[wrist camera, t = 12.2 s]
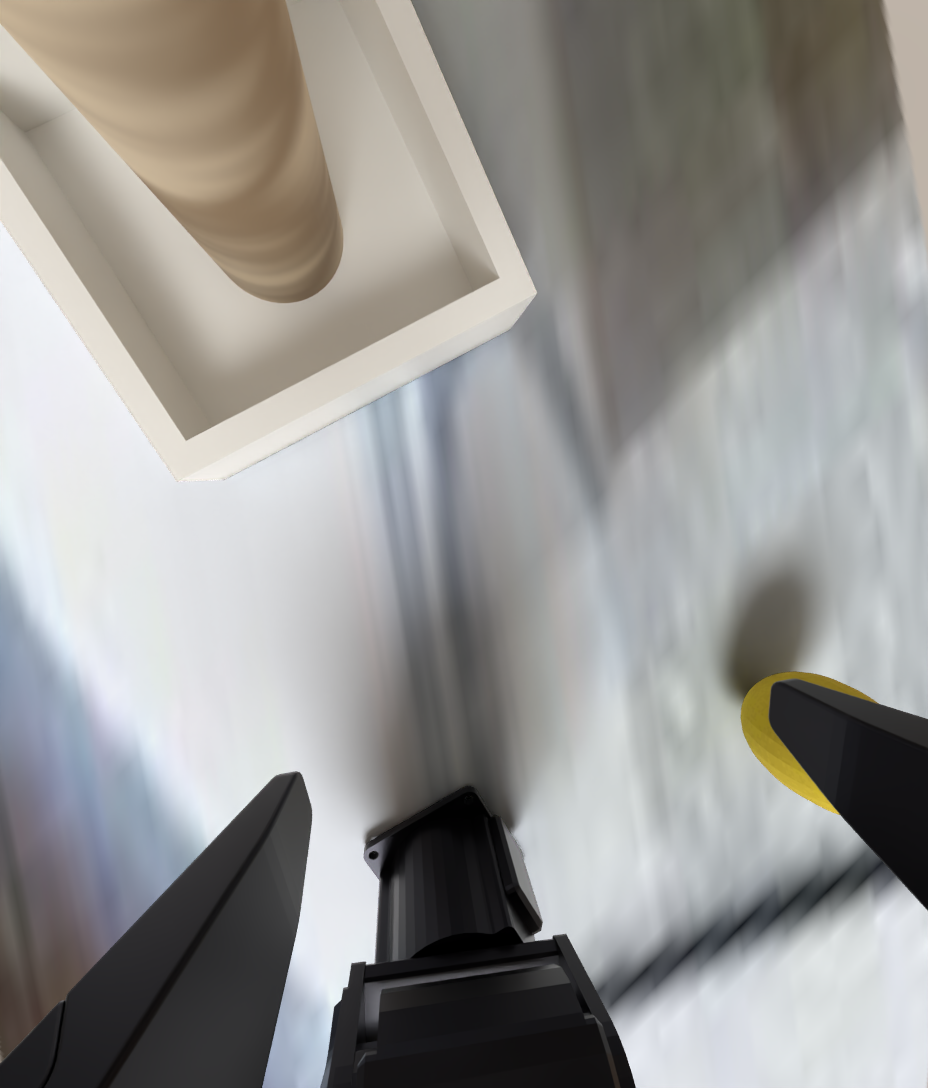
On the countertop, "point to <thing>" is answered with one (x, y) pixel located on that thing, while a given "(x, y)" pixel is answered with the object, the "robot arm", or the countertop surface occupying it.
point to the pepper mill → (203, 124)
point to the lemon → (771, 746)
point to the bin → (227, 310)
